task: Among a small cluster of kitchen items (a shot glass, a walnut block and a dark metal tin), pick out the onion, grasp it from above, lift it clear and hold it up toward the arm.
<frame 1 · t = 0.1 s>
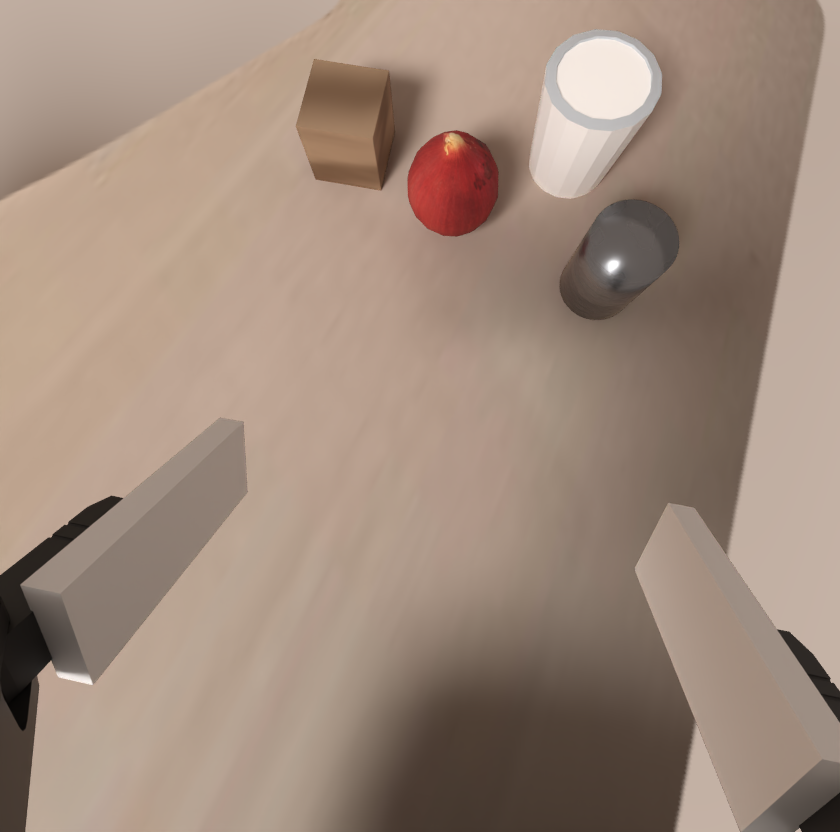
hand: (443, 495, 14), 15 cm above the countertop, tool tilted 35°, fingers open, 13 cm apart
onion: (450, 222, 32), on the countertop
walnut block: (355, 156, 33), on the countertop
shot glass: (565, 165, 32), on the countertop
metal tin: (595, 286, 31), on the countertop
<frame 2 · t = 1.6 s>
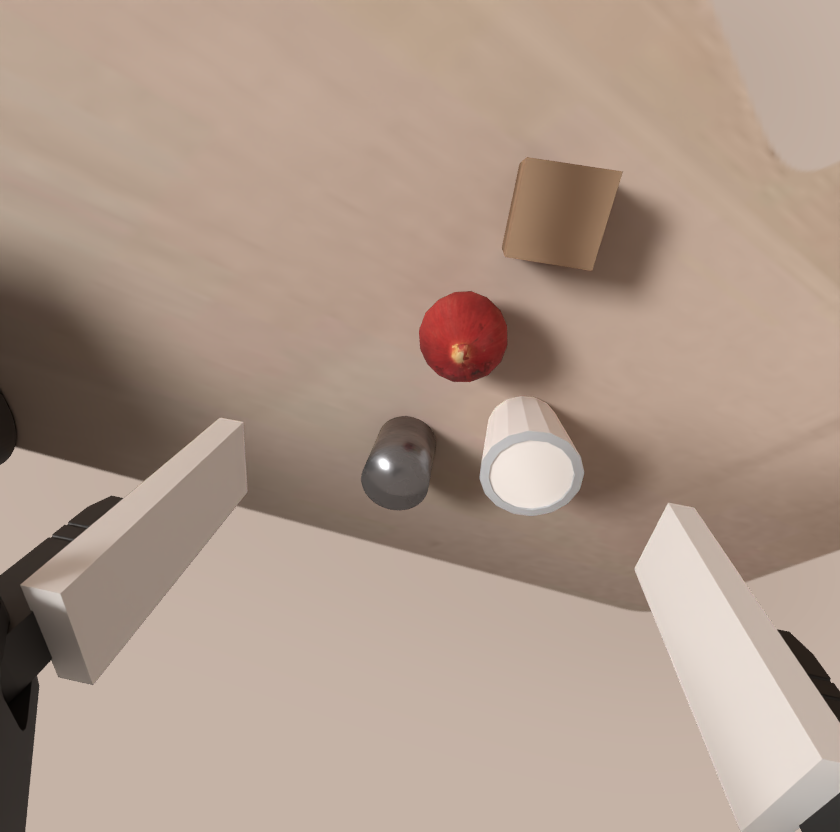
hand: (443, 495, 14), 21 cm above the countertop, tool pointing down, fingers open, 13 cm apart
onion: (465, 322, 32), on the countertop
walnut block: (548, 213, 28), on the countertop
shot glass: (521, 426, 35), on the countertop
metal tin: (406, 442, 37), on the countertop
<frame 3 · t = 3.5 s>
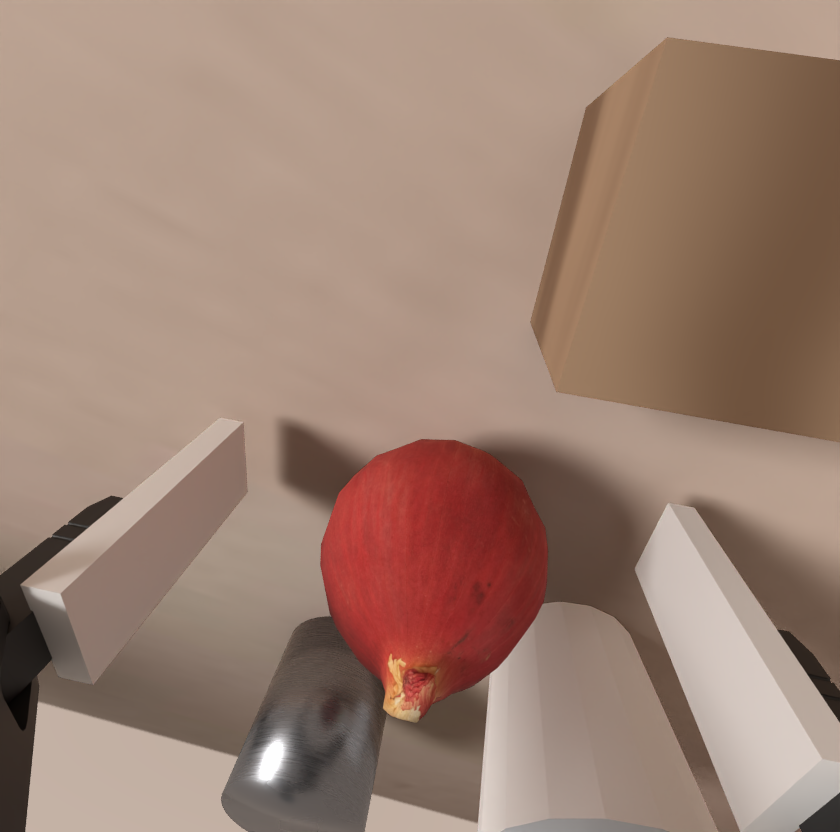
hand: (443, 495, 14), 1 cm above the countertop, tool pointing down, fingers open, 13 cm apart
onion: (445, 469, 15), on the countertop
walnut block: (653, 241, 11), on the countertop
shot glass: (560, 645, 18), on the countertop
metal tin: (342, 654, 20), on the countertop
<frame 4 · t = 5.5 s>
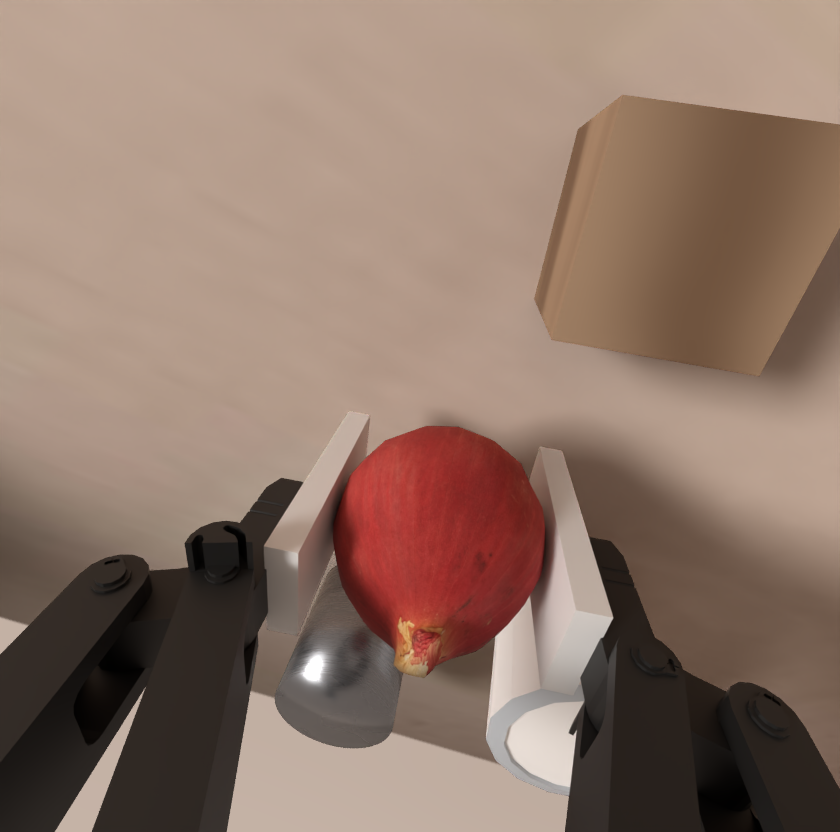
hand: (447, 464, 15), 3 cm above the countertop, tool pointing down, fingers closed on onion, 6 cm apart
onion: (449, 457, 16), point 2 cm above the countertop, touching gripper
walnut block: (632, 233, 14), on the countertop
shot glass: (558, 584, 21), on the countertop
metal tin: (369, 594, 23), on the countertop
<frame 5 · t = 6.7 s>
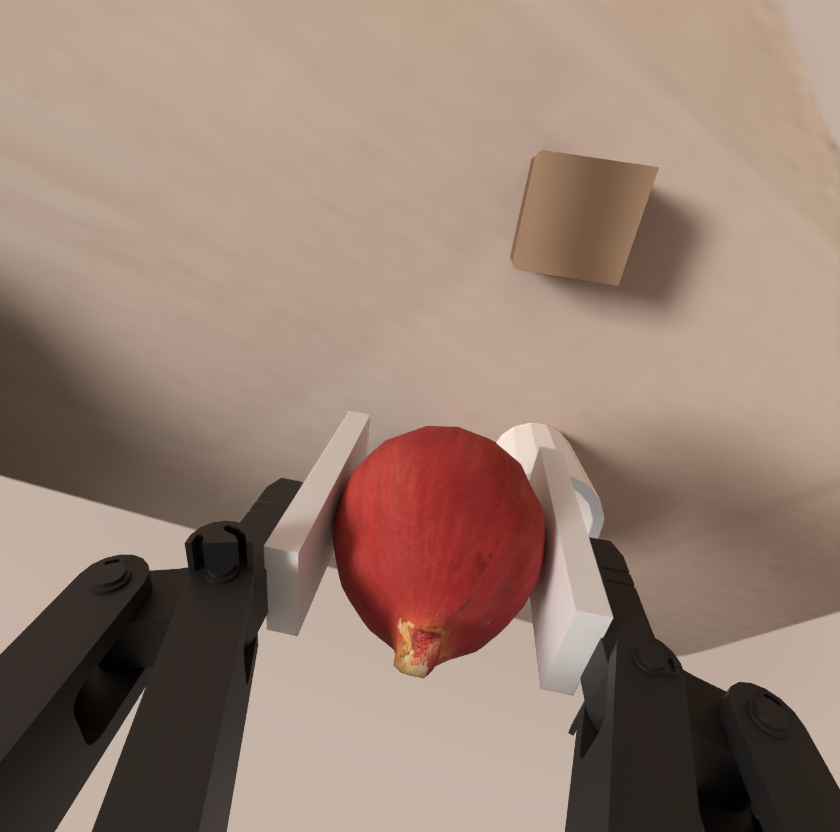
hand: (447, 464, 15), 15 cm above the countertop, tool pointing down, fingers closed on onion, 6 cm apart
onion: (449, 457, 16), point 14 cm above the countertop, touching gripper
walnut block: (564, 217, 24), on the countertop
shot glass: (531, 455, 32), on the countertop
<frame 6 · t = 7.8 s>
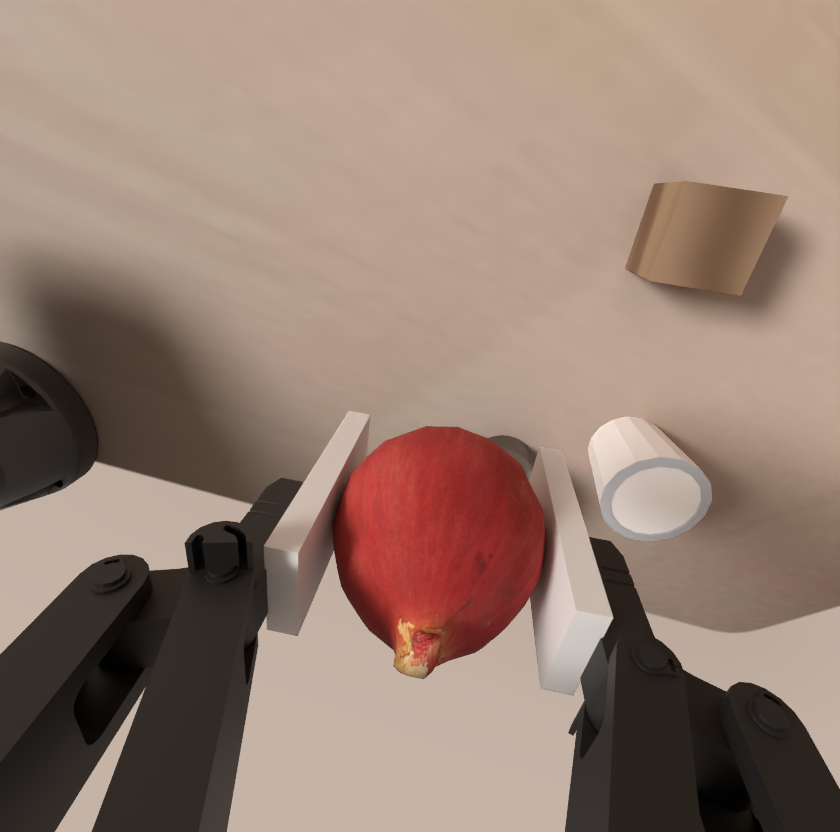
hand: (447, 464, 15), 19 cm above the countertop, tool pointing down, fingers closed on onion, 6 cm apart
onion: (449, 457, 16), point 18 cm above the countertop, touching gripper
walnut block: (678, 234, 28), on the countertop
shot glass: (624, 446, 35), on the countertop
metal tin: (502, 461, 37), on the countertop
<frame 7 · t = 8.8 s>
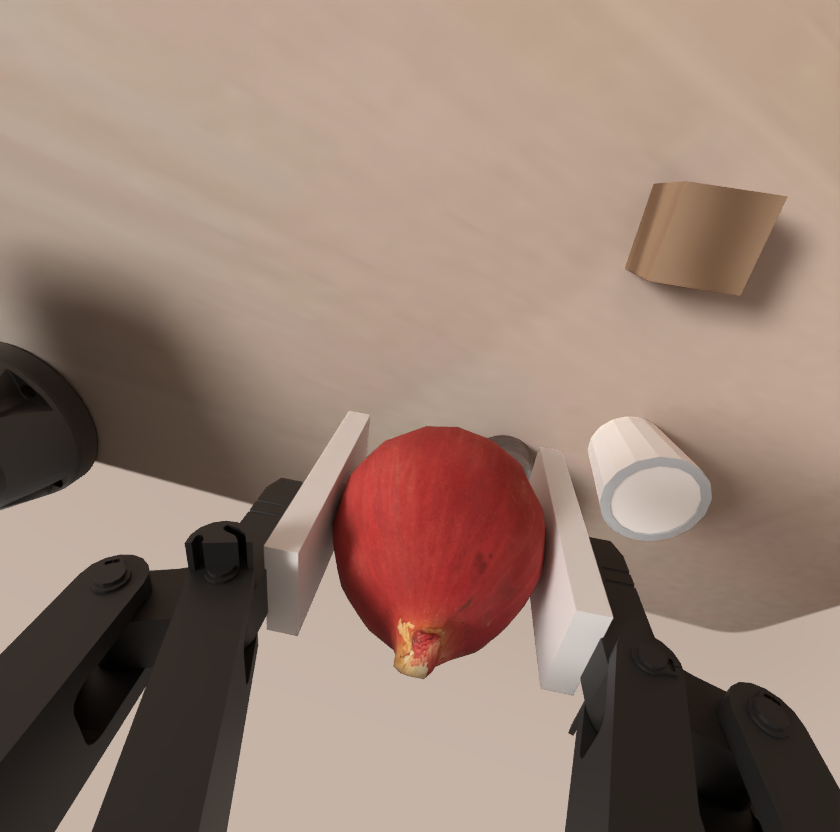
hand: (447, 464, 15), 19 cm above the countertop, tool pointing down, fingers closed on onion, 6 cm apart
onion: (449, 457, 16), point 18 cm above the countertop, touching gripper
walnut block: (678, 234, 28), on the countertop
shot glass: (624, 446, 35), on the countertop
metal tin: (501, 461, 37), on the countertop
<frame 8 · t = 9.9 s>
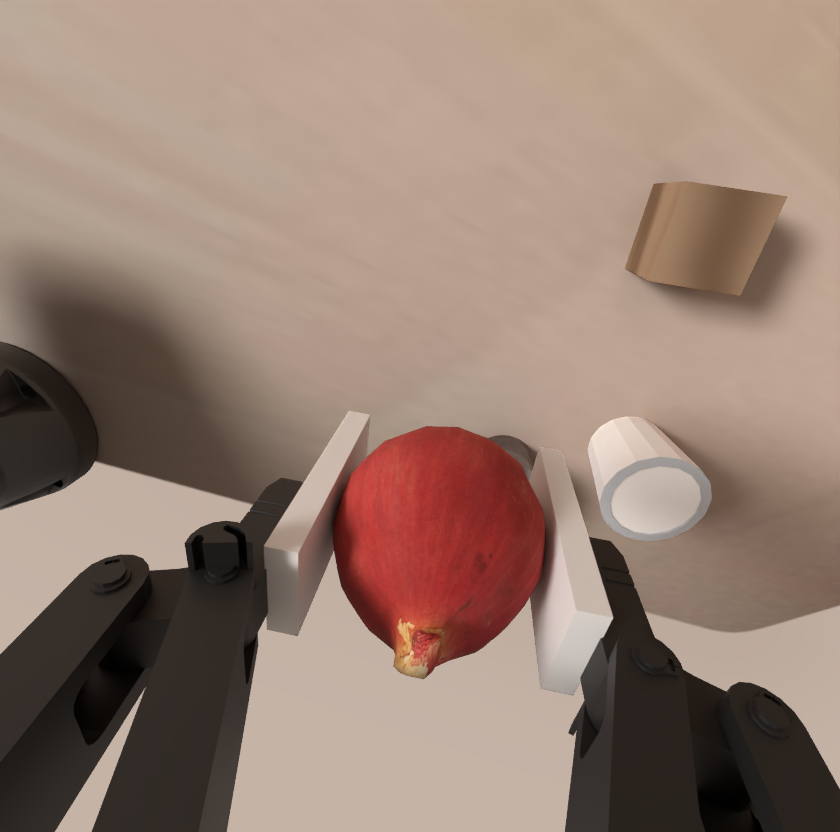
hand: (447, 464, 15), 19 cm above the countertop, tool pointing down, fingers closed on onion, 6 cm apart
onion: (449, 457, 16), point 18 cm above the countertop, touching gripper
walnut block: (678, 234, 28), on the countertop
shot glass: (624, 446, 35), on the countertop
metal tin: (501, 461, 37), on the countertop
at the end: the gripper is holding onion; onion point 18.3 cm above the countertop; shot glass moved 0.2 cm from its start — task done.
